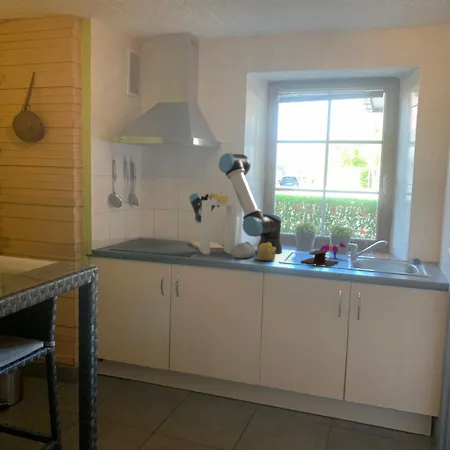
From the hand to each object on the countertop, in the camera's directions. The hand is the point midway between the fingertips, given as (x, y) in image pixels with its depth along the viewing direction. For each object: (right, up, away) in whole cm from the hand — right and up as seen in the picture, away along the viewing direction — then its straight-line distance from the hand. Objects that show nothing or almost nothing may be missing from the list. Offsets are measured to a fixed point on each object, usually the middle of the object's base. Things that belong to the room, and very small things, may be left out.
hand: (216, 192), depth 281 cm
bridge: (0, -35, -3) cm, 35 cm away
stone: (+28, -38, -19) cm, 51 cm away
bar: (+1, -5, -4) cm, 6 cm away
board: (-6, -33, +17) cm, 37 cm away
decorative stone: (+16, -37, -13) cm, 42 cm away
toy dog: (+67, -38, 0) cm, 77 cm away
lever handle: (+56, -40, -22) cm, 73 cm away
